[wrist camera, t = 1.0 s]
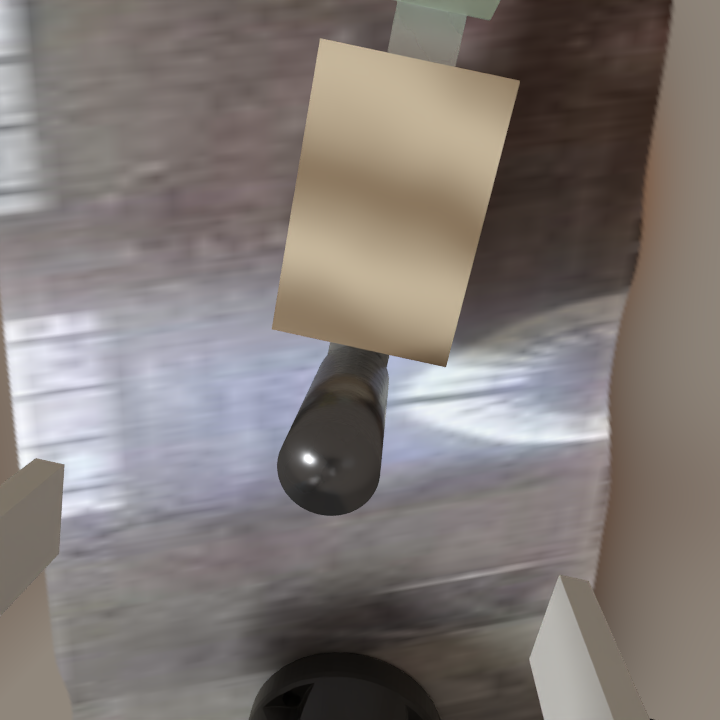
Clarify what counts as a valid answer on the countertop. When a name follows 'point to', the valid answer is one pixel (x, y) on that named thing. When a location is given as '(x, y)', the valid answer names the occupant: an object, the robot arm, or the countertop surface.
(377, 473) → the grey l-shaped piece
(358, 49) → the block
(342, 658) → the robot arm
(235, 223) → the countertop surface
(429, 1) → the block
